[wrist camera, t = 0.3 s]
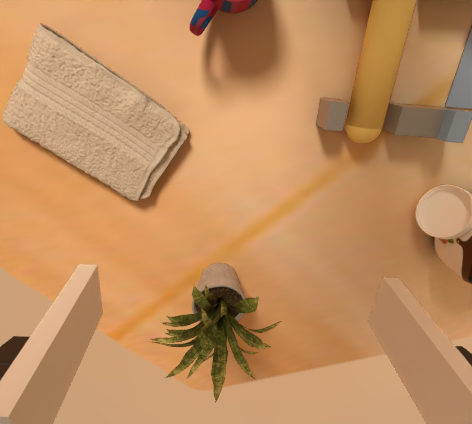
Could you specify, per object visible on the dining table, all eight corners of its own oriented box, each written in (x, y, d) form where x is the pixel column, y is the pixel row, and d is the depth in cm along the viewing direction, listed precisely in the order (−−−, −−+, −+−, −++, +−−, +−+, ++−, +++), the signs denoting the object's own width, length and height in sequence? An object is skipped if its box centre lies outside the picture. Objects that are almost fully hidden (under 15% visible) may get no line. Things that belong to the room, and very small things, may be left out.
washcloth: (147, 200, 42) (141, 210, 39) (6, 119, 37) (-11, 124, 34) (195, 124, 38) (194, 129, 35) (46, 22, 33) (31, 18, 30)
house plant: (218, 207, 42) (219, 287, 28) (289, 265, 47) (322, 359, 32) (153, 275, 46) (123, 375, 32) (224, 321, 51) (226, 428, 36)
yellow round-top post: (381, -71, 31) (402, -88, 27) (420, -66, 31) (447, -82, 27) (337, 138, 39) (349, 145, 36) (368, 140, 40) (383, 148, 36)
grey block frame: (348, -57, 31) (370, -77, 26) (566, -31, 33) (621, -46, 28) (315, 125, 38) (329, 133, 34) (495, 137, 40) (530, 147, 36)
